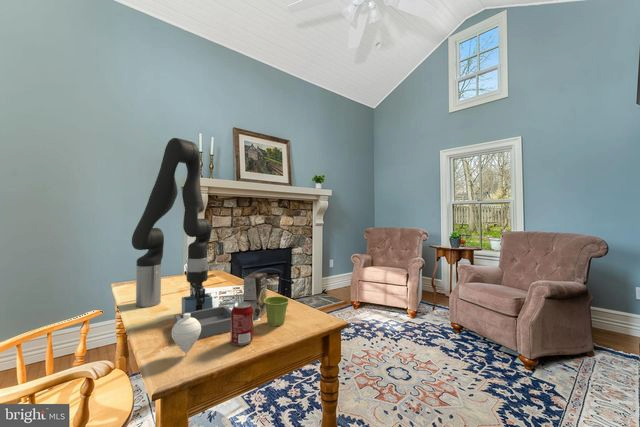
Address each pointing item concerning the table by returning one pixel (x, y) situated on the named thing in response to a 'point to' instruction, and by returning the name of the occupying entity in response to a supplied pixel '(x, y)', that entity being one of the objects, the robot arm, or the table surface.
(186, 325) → the spinning top
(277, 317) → the plant pot
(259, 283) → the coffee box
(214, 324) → the grey shallow tray
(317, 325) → the table surface
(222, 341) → the table surface
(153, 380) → the table surface
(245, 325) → the soda can
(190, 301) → the small crate
